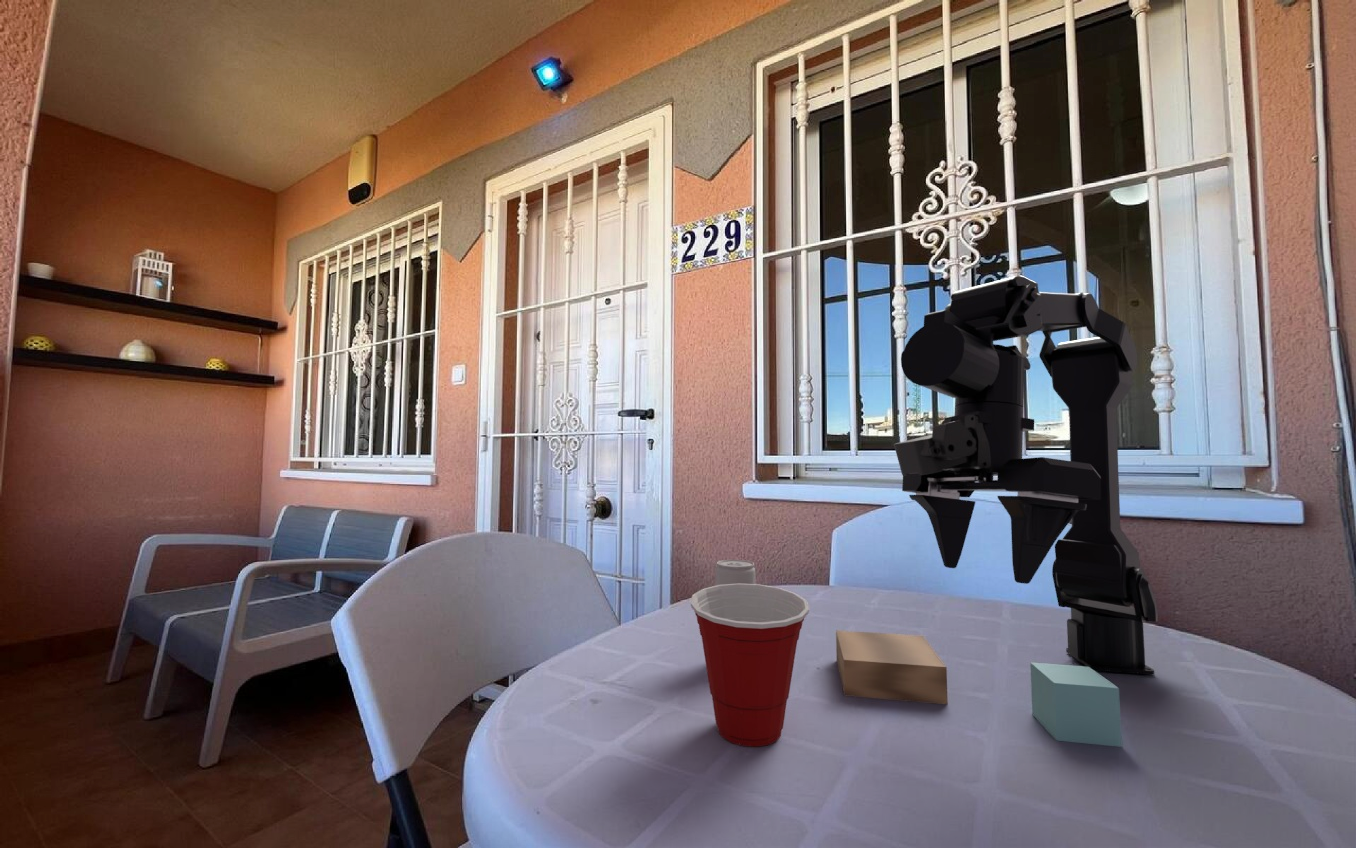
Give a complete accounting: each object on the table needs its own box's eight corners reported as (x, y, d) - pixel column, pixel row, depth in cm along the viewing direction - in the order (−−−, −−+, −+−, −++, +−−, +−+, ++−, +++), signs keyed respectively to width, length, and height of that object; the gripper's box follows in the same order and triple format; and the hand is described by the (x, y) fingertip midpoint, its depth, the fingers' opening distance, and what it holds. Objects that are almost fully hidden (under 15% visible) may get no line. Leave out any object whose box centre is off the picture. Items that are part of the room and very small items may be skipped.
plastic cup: (696, 768, 43) (696, 614, 44) (685, 706, 54) (685, 584, 55) (829, 763, 44) (826, 612, 45) (792, 703, 55) (790, 582, 56)
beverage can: (754, 673, 62) (754, 567, 63) (713, 670, 63) (712, 566, 64) (757, 658, 67) (756, 560, 68) (718, 655, 68) (718, 558, 69)
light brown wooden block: (923, 670, 65) (922, 635, 65) (947, 707, 55) (946, 667, 55) (836, 663, 67) (836, 630, 67) (844, 699, 57) (843, 659, 57)
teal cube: (1090, 720, 52) (1088, 666, 52) (1121, 748, 47) (1118, 688, 47) (1032, 715, 53) (1030, 662, 53) (1056, 741, 48) (1054, 683, 48)
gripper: (861, 411, 60) (852, 554, 58) (981, 376, 42) (974, 584, 40) (953, 424, 62) (947, 564, 59) (1107, 396, 43) (1106, 597, 41)
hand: (982, 574), depth 50 cm, fingers open, 9 cm apart
